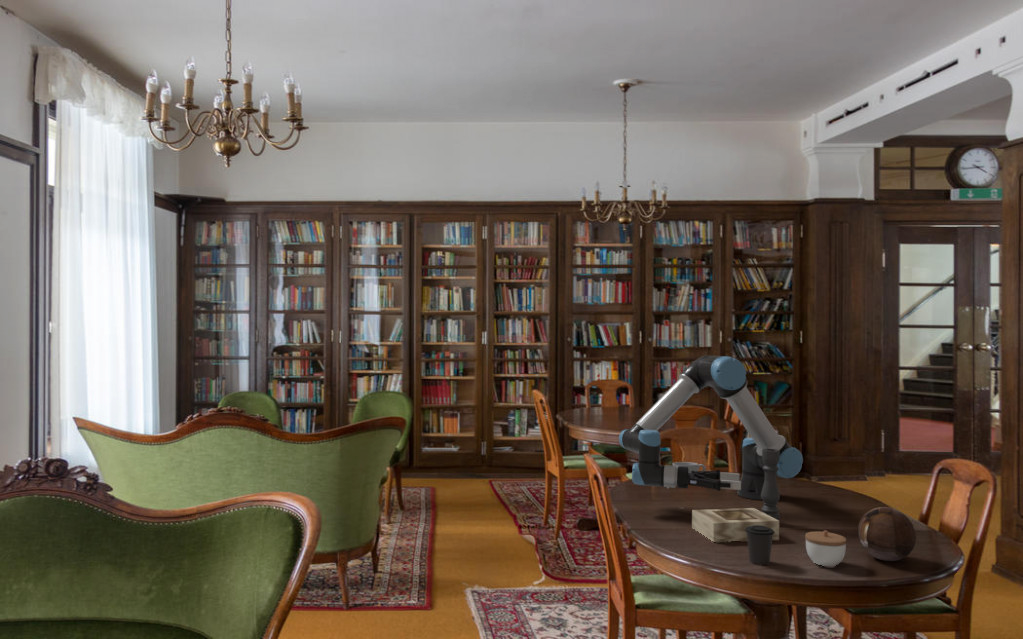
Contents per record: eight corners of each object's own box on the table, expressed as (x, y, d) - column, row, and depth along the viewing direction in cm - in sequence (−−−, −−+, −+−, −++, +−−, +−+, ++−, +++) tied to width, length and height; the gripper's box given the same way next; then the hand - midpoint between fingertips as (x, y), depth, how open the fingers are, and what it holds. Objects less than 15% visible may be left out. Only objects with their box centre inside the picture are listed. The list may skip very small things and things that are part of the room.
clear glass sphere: (906, 554, 219) (907, 503, 219) (922, 570, 204) (923, 516, 204) (852, 549, 222) (852, 500, 222) (864, 565, 207) (865, 512, 207)
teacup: (672, 483, 310) (673, 464, 310) (671, 478, 320) (671, 460, 320) (706, 485, 307) (707, 466, 307) (704, 480, 318) (704, 461, 318)
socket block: (753, 525, 247) (753, 507, 247) (778, 539, 231) (779, 520, 231) (691, 528, 243) (692, 509, 243) (713, 542, 227) (713, 522, 227)
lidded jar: (803, 556, 215) (803, 524, 215) (843, 560, 212) (843, 527, 212) (806, 567, 205) (807, 534, 205) (848, 572, 202) (849, 538, 202)
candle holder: (777, 527, 246) (778, 452, 246) (758, 524, 249) (759, 450, 249) (781, 522, 251) (782, 449, 251) (762, 520, 254) (763, 447, 254)
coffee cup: (739, 562, 209) (739, 526, 209) (751, 555, 215) (752, 521, 215) (767, 568, 204) (767, 532, 204) (779, 562, 210) (779, 526, 210)
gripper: (678, 480, 270) (738, 484, 264) (675, 495, 246) (741, 500, 240) (678, 460, 270) (738, 464, 264) (675, 473, 246) (741, 477, 240)
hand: (740, 481), depth 252 cm, fingers open, 13 cm apart
